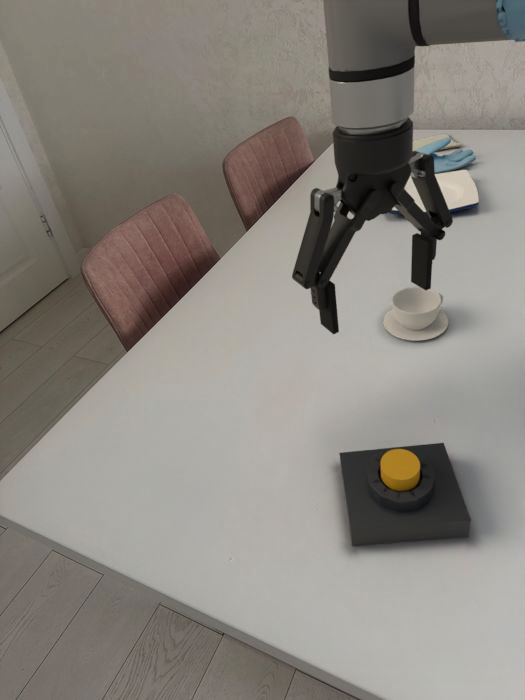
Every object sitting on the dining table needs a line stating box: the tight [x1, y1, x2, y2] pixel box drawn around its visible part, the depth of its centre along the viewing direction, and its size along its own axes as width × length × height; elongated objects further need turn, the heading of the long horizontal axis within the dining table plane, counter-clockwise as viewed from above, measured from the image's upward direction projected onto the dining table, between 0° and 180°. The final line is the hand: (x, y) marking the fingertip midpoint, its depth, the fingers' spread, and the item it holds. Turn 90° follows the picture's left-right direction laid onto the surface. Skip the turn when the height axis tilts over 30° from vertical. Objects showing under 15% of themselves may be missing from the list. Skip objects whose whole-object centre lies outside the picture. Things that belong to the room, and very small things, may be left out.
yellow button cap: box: [381, 449, 420, 491], centre depth 53 cm, size 4×4×2 cm
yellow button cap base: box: [339, 442, 472, 547], centre depth 55 cm, size 12×10×5 cm
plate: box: [388, 169, 480, 216], centre depth 113 cm, size 20×20×3 cm
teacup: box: [382, 286, 449, 342], centre depth 79 cm, size 10×10×5 cm
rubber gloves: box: [413, 133, 477, 174], centre depth 132 cm, size 27×33×6 cm
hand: (376, 306), depth 60 cm, fingers open, 13 cm apart
